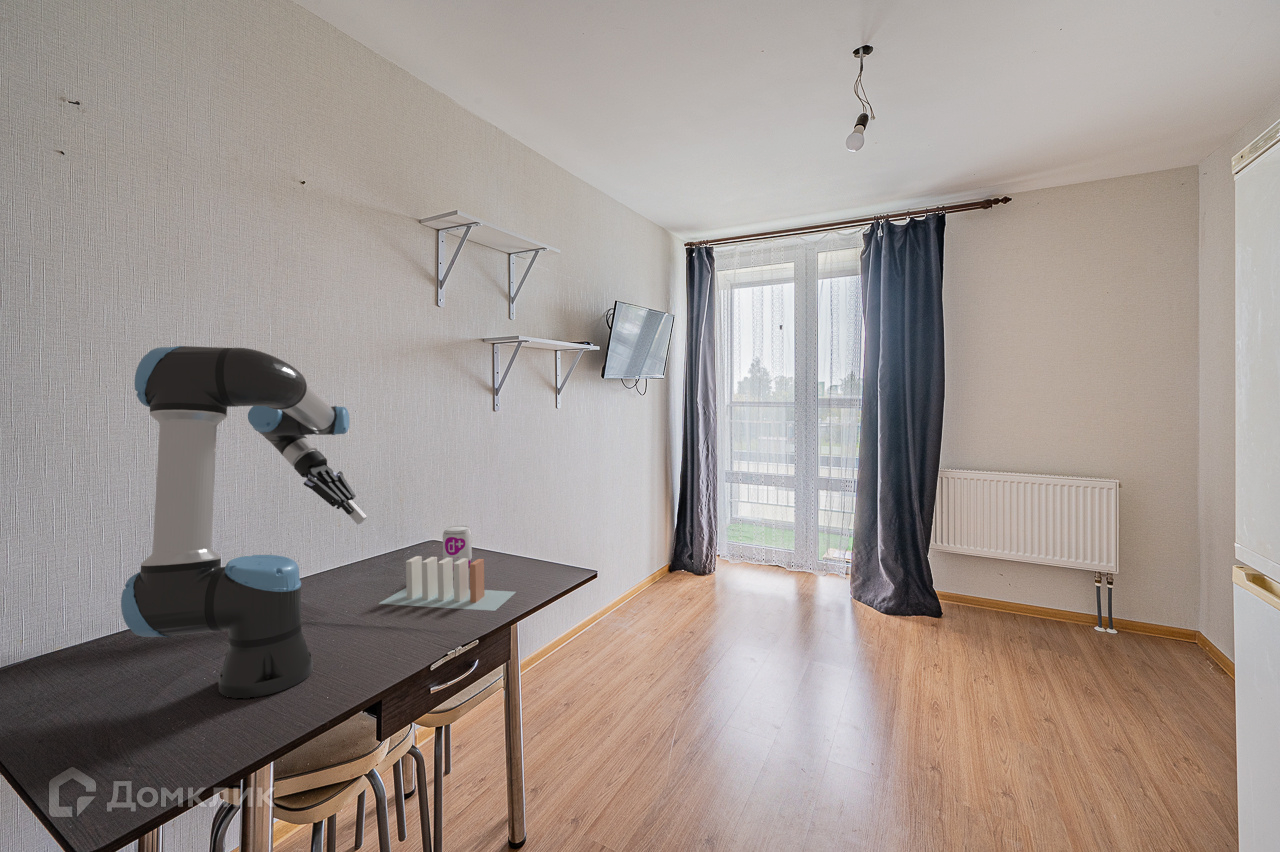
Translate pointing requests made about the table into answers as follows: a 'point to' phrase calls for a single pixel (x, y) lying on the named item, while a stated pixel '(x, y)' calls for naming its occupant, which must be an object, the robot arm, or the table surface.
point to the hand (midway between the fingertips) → (362, 520)
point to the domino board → (452, 600)
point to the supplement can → (457, 544)
